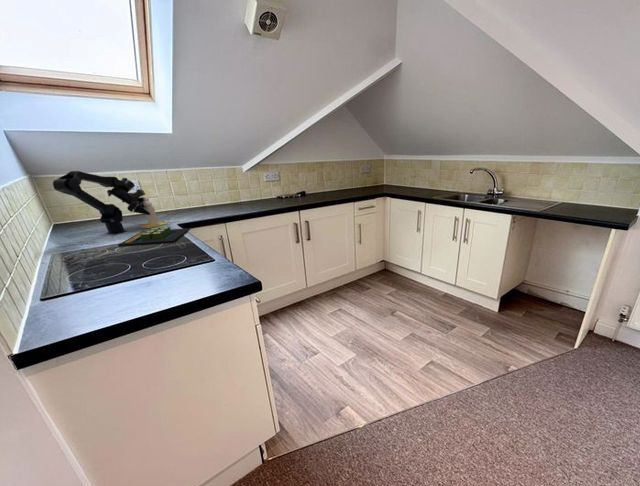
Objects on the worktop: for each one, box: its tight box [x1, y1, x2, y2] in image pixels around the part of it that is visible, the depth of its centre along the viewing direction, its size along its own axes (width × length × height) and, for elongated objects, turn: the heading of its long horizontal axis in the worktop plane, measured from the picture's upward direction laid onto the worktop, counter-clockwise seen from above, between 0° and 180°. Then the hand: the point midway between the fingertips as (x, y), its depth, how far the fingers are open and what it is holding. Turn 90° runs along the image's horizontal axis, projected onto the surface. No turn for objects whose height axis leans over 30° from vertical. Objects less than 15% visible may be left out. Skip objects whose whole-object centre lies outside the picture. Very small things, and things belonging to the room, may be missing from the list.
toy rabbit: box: [143, 197, 160, 226], centre depth 181 cm, size 5×5×17 cm
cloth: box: [140, 221, 169, 229], centre depth 185 cm, size 12×8×1 cm, turn 154°
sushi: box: [117, 226, 191, 247], centre depth 160 cm, size 25×25×4 cm
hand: (152, 212), depth 182 cm, fingers open, 9 cm apart
